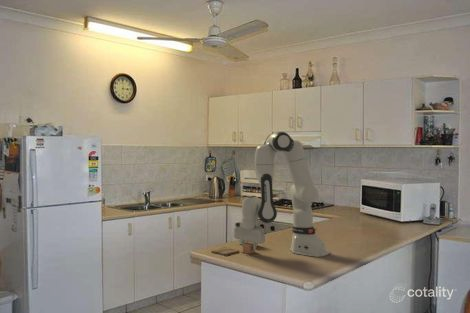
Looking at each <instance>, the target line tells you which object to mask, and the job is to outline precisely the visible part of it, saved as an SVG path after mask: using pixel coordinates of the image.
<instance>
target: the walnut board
mask: <svg viewBox="0 0 470 313" xmlns="http://www.w3.org/2000/svg"><path fill="white" fill-rule="evenodd" d="M211 253H212V254H216V255H220V256H225V257H228V256H230V255H235V254H238V253H240V250H239V249H234V248H229V247H226V246H225V247H220V248H217V249H213V250H212V249H211Z"/></svg>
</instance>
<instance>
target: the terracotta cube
mask: <svg viewBox="0 0 470 313" xmlns="http://www.w3.org/2000/svg"><path fill="white" fill-rule="evenodd" d="M253 246H254V244H253V243H251V242H246V243H243V245H242V253H245V254H249V255H250V254H253V253H256V250H252V247H253Z"/></svg>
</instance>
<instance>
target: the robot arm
mask: <svg viewBox="0 0 470 313" xmlns="http://www.w3.org/2000/svg"><path fill="white" fill-rule="evenodd" d="M280 152H283V154H284V155H285V158H286V159H285V160H286V164H287V168H288V174H289V176H290V178H291V181H292V183H293V184H292V185H291V186H290V188H289V193H290V196H291V203H292V204H291V205H292V211H293V212H292V213H293V217H292V218H293V220H292V222H293V223H292V224H293V225H292V238H291V245H290V248H289V251H290V252H291V253H292V254H294V255H295V254H296V255H301V256H302V255H303V256H308V257H309V256H310V257H316V258H320V257H325V256H328V255H329V254H330V253H331V252H330V250H328V249H326V243H325V241H324V240H323V239H322V238H321V237H320V236H319V235H318V234H316V231H317V228H315V227H314V226H313V221H314V220H313V218H314V213H313V209H312V205H311V203H314V202H315V201H317V199H318V197H319V191H318V190H317V188H316V186H315V183H314V181H313V180H314V179H313V178H312V176H311V173H310V169H309V166H308V161H307V157H306V153H305V150H304V147H303V144H302V142H300V141H299V140H296V139H293V138H292V136H290V135H289V134H288V133H287V132H285V131H275V132H272V133H270V134H268V136H267V137H266V138H265V141H264V143H263V144H260V145H258V146H257V147H256V149H255V153H254V172H255V176H256V179H257V181H258V183H259V186H260V197H261V198H259V197H258V196H256V195H247V196H245V197H244V198H243V199H242V202H241V203H242V204H241V213H242V217H241V220H239V221H237V222H235V223H234V229H233V237H234V239H235V240H241V243H242V246H243V243H245V241H249V242H253V244H254V246H253V247H252V250H255V251H257V250H256V249H257V246H258V244H259V245H261V244H265V242H266V234H265V228H264V227H263V226H259V225H258V219H259V221H261V222H262V223H265V224H269V223H270V224H271V223H272V222H274V221H275V220H276V219H277V217H278V216H277V215H278V211H277V209H276V206H275V203H274V196H273V192H274V191H273V184H274V183H273V182H274V176H275V157H276V156H275V155H276V154H277V153H280Z"/></svg>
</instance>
